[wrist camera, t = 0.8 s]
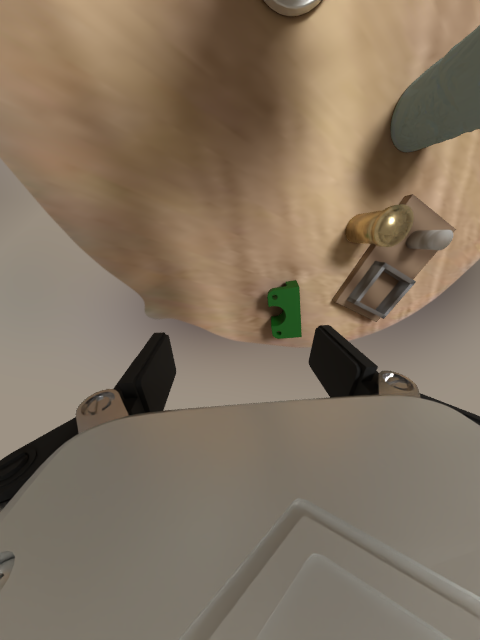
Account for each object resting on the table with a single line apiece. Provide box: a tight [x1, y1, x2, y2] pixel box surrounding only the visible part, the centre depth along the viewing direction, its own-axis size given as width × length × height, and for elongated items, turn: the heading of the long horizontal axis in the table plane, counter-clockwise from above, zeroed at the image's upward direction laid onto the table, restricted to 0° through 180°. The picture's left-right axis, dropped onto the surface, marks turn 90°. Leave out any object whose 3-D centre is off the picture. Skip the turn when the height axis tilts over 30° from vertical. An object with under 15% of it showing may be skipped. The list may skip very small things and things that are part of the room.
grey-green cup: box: [391, 25, 480, 152], centre depth 22 cm, size 10×10×12 cm
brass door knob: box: [346, 204, 414, 247], centre depth 30 cm, size 6×6×8 cm
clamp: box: [267, 280, 302, 339], centre depth 37 cm, size 12×6×9 cm, turn 5°
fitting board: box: [332, 194, 456, 322], centre depth 35 cm, size 22×13×6 cm, turn 155°
